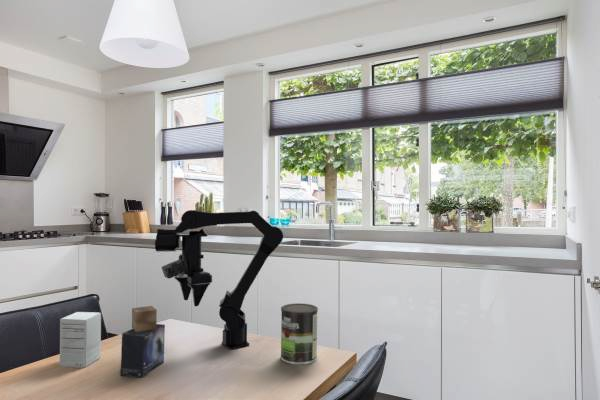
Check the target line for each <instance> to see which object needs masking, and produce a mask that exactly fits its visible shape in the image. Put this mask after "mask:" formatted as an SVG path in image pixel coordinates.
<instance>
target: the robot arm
mask: <svg viewBox="0 0 600 400" xmlns="http://www.w3.org/2000/svg"><path fill="white" fill-rule="evenodd" d="M234 224H235V225H237V224H239V225H240V224H251V225H253V227H255V229H257V230H258V231H259V232H260V233H261V234H262V236H261V239H260V242H259V245H258V248H257V250H256V252H255V254H254V256H252V259H251V260H250V262H249V263H248V266H247V267H246V269H245V270H244V272H243V274H242V275H241V277H240V279H239V281H238V283H236V286H235V288H234V289H233V290H232V291H231V292H230V291H229V290H226V292H225V295H224V297H223V298H222V299H221V300H220V301H219V312H218V315H219V317H220V319H221V320H222V321H224V322H225V324H224V325H223V330H222V341H221V344H223V345H224V346H225V347H227V348H228V349H231V350H232V349H237V348H241V347H246V346H249V345H250V342H248V324H247V322H246V313H245V312H244V311H243V310H242V309H241V308H242V306H243V302H244V300H245V297H246V295H247V293H248V292H249V289H250V288H251V286H252V285H253V284H254V283H253V282H254V281H255V280H256V278H257V276H258V274H259V273H260V271H261V269H262V267H263V266H264V264H265V262H266V261H267V260H268V258H269V256H270V255H271V254H272V253H273V252H274V251H275V250H276V249H277V248H278V246H279V245H280V244H281V243H282V241H283V239H284V233H283V230H281V228H280V227H278V226H275V225H271V224H270V223H269V222H268V221H267V220H266V219H264V218H263V217H262V216H261V215H260V213H259V212H258V211H256V210H250V211H231V212H230V211H229V212H210V211H205V210H204V211H203V210H195V209H190V210H187V211H185V212H184V213H183V214H182V215H181V217H180V222H179V224H178V225H177V226H176V228H175V229H165V228H158V229H156V231H157V232H156V236H155V241H154V248H155V249H154V250H155V252H166V253H167V252H177V249H180V248H181V254H179V255H178V259H177V260H174V261H172V262H169V263H167V264H165V265H163V266H161V270H162V274H163V276H164V277H165V278H166V279H172V278H173V279H174V280H176V281H177V282H178V283H179V285H180V290H181V292H182V296H183V300H184V301H188V300H189V297H190V295H191V292H192V300H193V305H194V307H198V306H199V305H200V303H201V301H202V299H203V297H204V295H205V292H207V289H208V287H209V286H210V285H211V283H213V275H212V274H211V273H210V272H207V271H204V268H202V259H204V254H202V237H208V235H209V234H208V233H207V232H206V230H205V229H204V227H209V226H213V225H234ZM194 229H195V230H194ZM196 229H200V230H196ZM188 230H189V232H188V233H185V234H184V232H187V231H188Z"/></svg>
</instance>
